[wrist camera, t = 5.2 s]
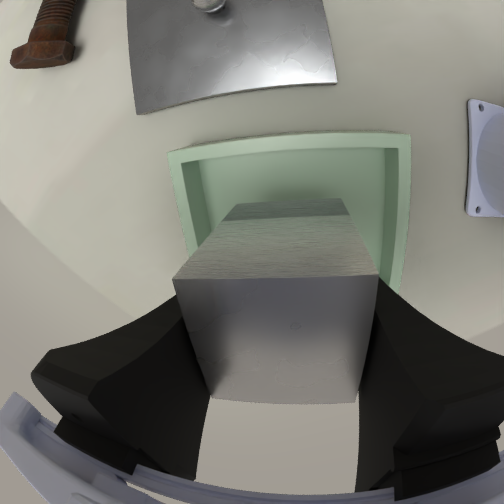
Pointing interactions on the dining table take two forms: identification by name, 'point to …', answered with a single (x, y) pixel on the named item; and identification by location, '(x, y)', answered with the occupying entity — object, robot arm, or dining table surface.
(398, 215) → the parts tray
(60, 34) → the bolt
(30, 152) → the dining table surface
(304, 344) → the grey metal block
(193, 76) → the stud plate
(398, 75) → the dining table surface
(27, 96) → the dining table surface
